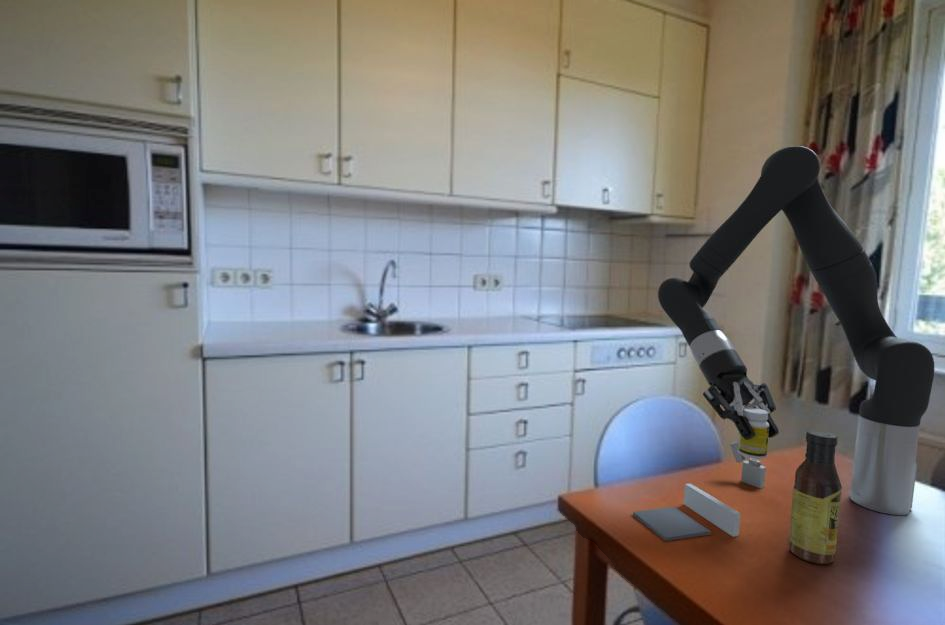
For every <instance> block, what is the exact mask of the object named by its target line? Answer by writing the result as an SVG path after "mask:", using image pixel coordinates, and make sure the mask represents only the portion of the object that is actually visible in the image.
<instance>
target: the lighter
mask: <svg viewBox="0 0 945 625" xmlns="http://www.w3.org/2000/svg"><path fill="white" fill-rule="evenodd" d="M729 446H730V448H731V450H732V454H733V456H734V460H735V462H736V464H737V463H742V465H741V466H742V468H741V475H740V476H741V478H740V481H741V483H745V484H747V485H751V486H752V487H755V488H758V489H762V488H764V487H765V484H766V483H765V481H766V471H767V467H766V466H765V465H762V463H761V461H760V460H759V459H752V458H749V459H748V460H747V459H746V458H747V457H745V456H742V455H741V454H739V453H738V441H734V442H733V441H732V442H730V444H729Z"/></svg>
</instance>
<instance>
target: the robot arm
mask: <svg viewBox="0 0 945 625" xmlns="http://www.w3.org/2000/svg"><path fill="white" fill-rule="evenodd" d="M820 172H821V162H820V159H819V157H818V155H817V154H816V152H815V151H813V150H812V149H810V148H809V147H806V146H801V145H792V146H786V147H783V148H780V149H779V150H777V151H775V152H774V153H772V154H770V156H769V157H768V158H766V160H765V162H764V163H763V165H762V167H761V172H760V177H759V179H757V182H756V183H755V185H754V186H753V188H752V189H751V191H750V192H749V194H748V195H747V197H746V198H745V199H744V200H743V202H742V203H741V204H740V205H739V206H738V207H737V209H735V211H734V212H733V213H732V214H731V215H730V216H729V217H728V218H727V219H726V220H725V221H724V222H723V223H722V224H721V225H720V226H719V227H718V228H717V229H715V231H714V232H713V234H712V235H710V236H709V238H707V240H706V241H705V243H703V245H702V246H701V247H700V248H699V249H698V251H697V252H696V253H695V254H694V255H693V257H692V258H691V260H690V262H689V268H690V270H691V271H692V272H693V273H692V274H691V276H690V278H689V280H688V281H687V280H684V279H681V278H678V277H670V278H667V279H666V280H664V281H663V282H661V283H660V286H659V287H658V290H657V298H658V302H659V304H660V306H661V308H662V310H663V311H664V312H665V314H666V315H667V316H668V318H670V320H671V321H672V322H673V324H675V326H676V327H678V329H679V330H680V331H681V333H682V335H683V338H684V339H685V341H686V343H687V345H688V347H689V348H690V351H691V353H692V356H693V358H694V360H695V362H696V364H697V366H698V367H699V369H700V371H701V372H702V375H703V377H704V378H705V381H707V384H708V385H709V387H708V388H707V389H706V390H705V391H704V392H703V393H702V396H703V397H704V399H705V400H707V401H708V403H709V405H710V406H711V407H712V408H713V409H714V411H715V412H716V413H717V415H718V416H719V417H720V418H721V419H722V420H730V421H731V422H732V423H734V426H735V428H736V429H737V430H738V434H739V433H740V434H741V435H742V437H744V439H745V440H750V439H751V438H753V437H754V436H755V432H754V430H753V428H752V427H751V425H750V423H749V421H748V420H747V418H746V416H743V407H744V408H757V407H758V409H762V410H765V411H767V412H768V420H767V422H768V423H769V435H768V439H770V438H774V437H776V436H777V435H779V433H780V432H779V428H778V426H777V425H776V423H775V421H774V420H773V418H772V416H771V413H774V412H775V411H776V410H777V408H776V405H775V404H776V403H775V402H774V400H773V397H772V395H771V391H770V388H769V386H768V384H766V383H765V382H763V383H761V384H760V385H759V384H754V383H753V381H752V380H750V379H749V378H748V376H747V374H748V373H747V372H748V368H747V367H746V364H745V363H744V361H743V360H742V358H741V357H740V355H739V353H738V352H737V350H736V348H735V346H734V345H733V343H732V342H731V340H730V339H729V337H727V335H726V334H725V333H724V332H723V330H722V329H721V327H720V326H719V324H718V322H717V321H716V320H717V319H715V317H714V316H713V315H712V314H711V313H710V312H709V311H707V310H706V309H704V307H705V306H706V304H707V303H708V301H709V300H710V297H711V296H712V294H713V292H714V290H715V289H716V287H717V284H718V282H719V280H720V279H721V278H722V277H723V275H724V274H725V273H727V271H728V270H729V269H730V268H731V267H732V266H733V264H735V262H736V261H737V260H738V258H740V256H741V255H742V254H743V253H744V252H745V250H746V249H747V248H748V246H749V245H750V244H751V243H752V242H753V241H754V239H755V238H756V237H758V235H759V234H760V233H761V231H762V230H763V229H764V228H765V227H766V226H767V225H768V224H769V223H770V222H771V221H772V220H773V219H774V218H775V216H777V215H778V214H779V213H780V212H781V211H782V212H783V214H784V216H786V217H785V218H787V220H788V222H789V224H790V226H791V229H792V231H793V233H794V236H795V239H796V241H797V243H798V246H799V249H800V251H801V253H802V255H803V256H802V257H803V258H804V260H805V262H806V264H807V266H808V268H809V270H810V273H811V274H812V276H813V278H814V279H815V282H816V283H817V285H818V286H819V289H820V290H821V291H822V293H823V296H824V297H825V299H826V301H827V302H828V304H829V306H830V308H831V309H832V311H833V313H834V314H835V316H836V318H837V319H838V322H839V323H840V325H841V327H842V330H843V332H844V334H845V336H846V339H847V342H848V344H849V347H850V349H851V351H852V355H853V357H854V359H855V362H856V364H857V366H858V368H859V369H860V370H861V372H862V373H863V374H864V375H865V376H866V377H868V378H869V379H871V380H874V381H875V385H874V389H873V394H872V396H871V398H868V399H865V400H862V401H861V402H860V404H859V408H858V409H859V410H858V418H857V419H858V420H857V428H856V429H857V431H856V438H855V446H854V458H853V465H852V466H853V467H852V475H851V483H850V492H849V494H850V495H849V498H850V499H851V501H853V502H854V503H855V504H856V505H859V506H861V507H863V508H866V509H869V510H871V511H875V512H877V513H878V512H879V513H882V514H888V515H892V516H893V515H894V516H906V515H908V514H910V510H911V509H913V501H914V494H915V486H916V476H917V470H918V469H917V468H918V463H917V461H916V460H917V453H918V452H917V450H918V445H919V444H918V443H919V435H920V427H921V420H922V418H923V416H924V415H925V414H926V412H927V409H928V407H929V404H930V399H931V394H932V388H933V382H934V377H935V360H934V357H933V354H932V353H931V351H930V349H928V347H927V346H925V345H923V344H922V343H919V342H917V341H914V340H908V339H903V338H899V337H897V336H896V334H895V333H894V331H893V330H892V329H891V327H890V326H889V324H888V323H887V321H886V319H885V317H884V316H883V314H882V311H881V308H880V304H879V301H878V292H879V291H878V278H877V273H876V271H875V267H874V265H873V264H872V262H871V259H870V258H869V256H868V254H867V253H866V250H865V249H864V246H863V245H862V243H861V242H860V240H859V239H858V238H857V236H856V235H855V233H854V232H853V231H852V229H851V228H850V226H848V224H846V222H845V221H844V220H843V219H842V218H841V217H840V216H839V214H838V213H837V212H836V210H835V209H834V208H833V207H832V206H831V204H830V203H829V200H828V199H827V196H826V195H825V191H824V190H823V188H822V185H821V183H820V180H819V178H818V177H819V174H820ZM752 401H753V402H752ZM751 402H752V403H751ZM721 406H722V407H721ZM742 406H743V407H742Z"/></svg>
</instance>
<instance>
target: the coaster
mask: <svg viewBox="0 0 945 625" xmlns="http://www.w3.org/2000/svg"><path fill="white" fill-rule="evenodd" d="M632 516H633V517H634V518H636V519H637V520H638V521H640V522H641V523H642V524H643V525H645V526H646V527H647V528H649V529H650V530H651V531H652V532H654V534H656V535H657V536H658V537H660V538H661V539H662V540H663V541H665V542H667V541H668V542H669V541H674V540H675V541H676V540H682V539H688V538H695V537H701V536H710V535H711V530H709V529H708V528H706V527H705V526H703V525H702V524H701V523H700V522H698V521H696V520H695V519H694V518H692V517H691V516H689V515H687V514H686V513H684V512H683V511H682V510H680V509H678V508H677V507H676V506H668V507H667V506H666V507H661V508H653V509H646V510H639V511H633V512H632Z"/></svg>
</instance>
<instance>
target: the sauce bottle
mask: <svg viewBox="0 0 945 625" xmlns="http://www.w3.org/2000/svg"><path fill="white" fill-rule="evenodd" d="M805 441H806V451H805V454H804V456H805V459H804V461H802V463H801V464H799V466H798V467H797V468H796V471H795V475H794V476H795V477H794V486H793V489H792V499H791V500H792V501H791V510H790V512H791V513H790V521H789V522H790V525H789V535H788V539H789V544H788V548H789V550H790V552H791V553H792V554H794V556H796V557H797V558H800V559H802V560H803V561H807V562H810V563H812V564H817V565H829V564H831V563H832V562H833V561H834V558H835V554H836V552H837V543H838V542H837V540H838V532H839V525H840V524H839V523H840V513H841V512H840V511H841V501H842V492H843V491H842V490H843V487H842V484H841V480H840V477H839V474H838V470H837V466H836V462H835V456H836V455H835V454H836V447H837V445H838V436H837V434H834V433H831V432H829V431H828V432H827V431H824V430H815V429H814V430H813V429H811V430H810V429H809V430H807V431H806V434H805Z"/></svg>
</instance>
